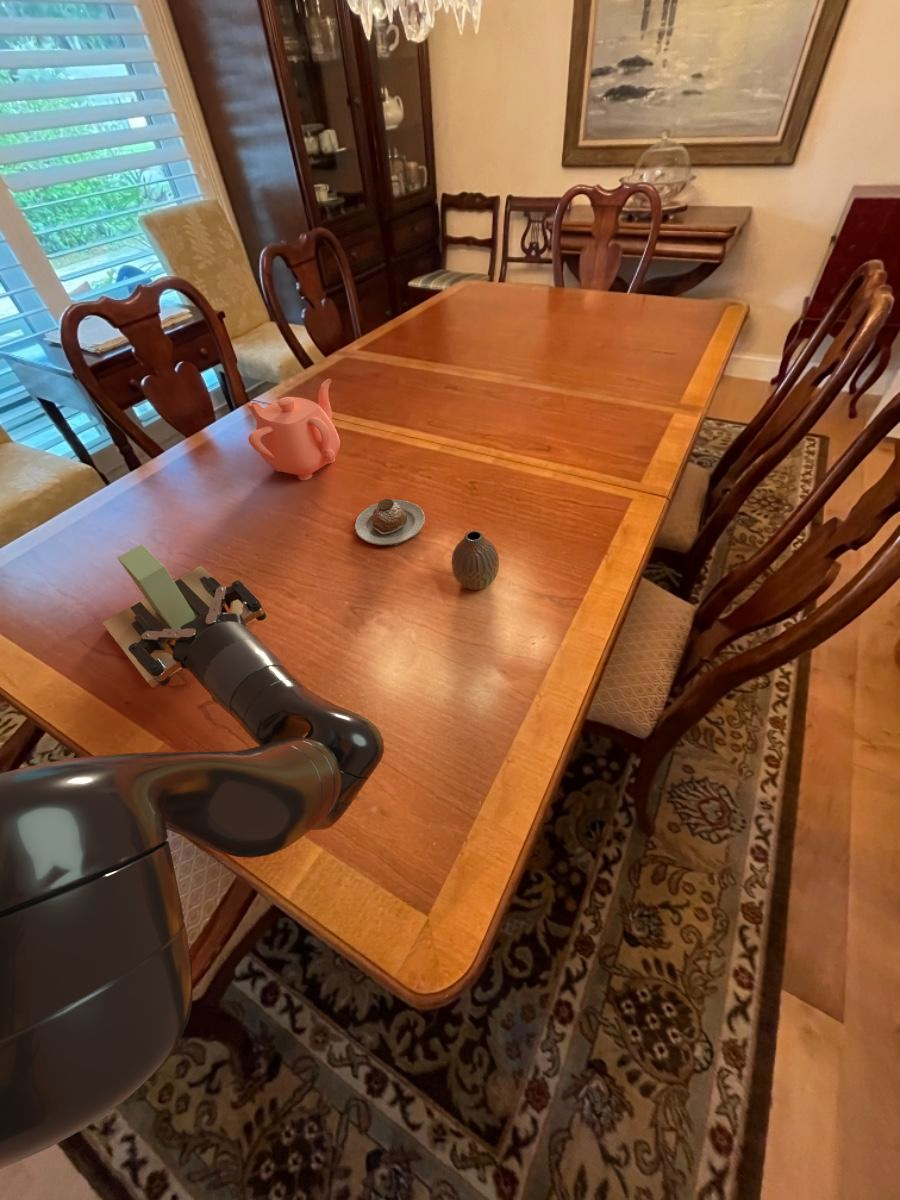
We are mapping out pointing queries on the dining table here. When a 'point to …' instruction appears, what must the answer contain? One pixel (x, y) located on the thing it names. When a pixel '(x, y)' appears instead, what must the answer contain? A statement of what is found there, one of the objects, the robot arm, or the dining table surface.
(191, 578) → the seat base
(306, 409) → the teapot
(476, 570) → the vase
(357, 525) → the pastry
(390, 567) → the dining table surface
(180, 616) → the green rectangular block
